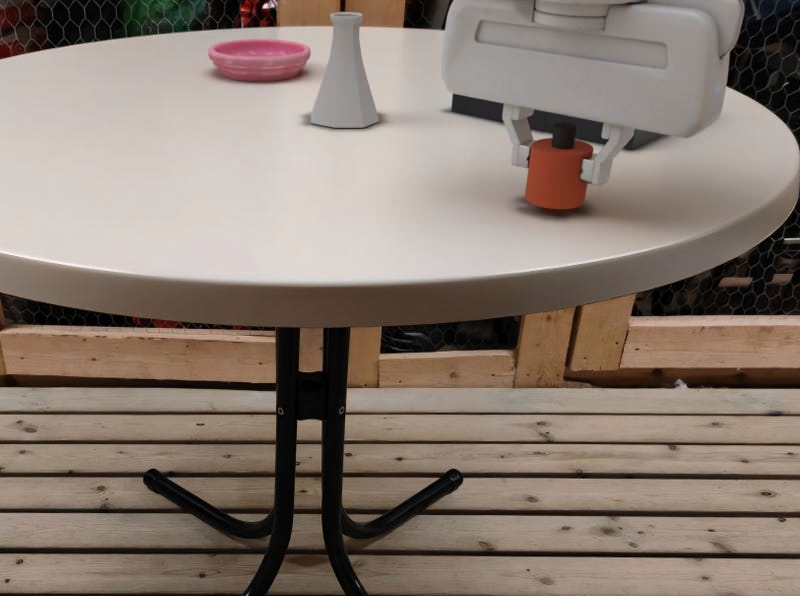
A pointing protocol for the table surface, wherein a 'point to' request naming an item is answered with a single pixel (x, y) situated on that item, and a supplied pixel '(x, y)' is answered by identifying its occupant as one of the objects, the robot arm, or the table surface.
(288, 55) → the pink shallow round dish
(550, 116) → the drain plate
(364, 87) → the flask
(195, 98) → the table surface
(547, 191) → the stopper
